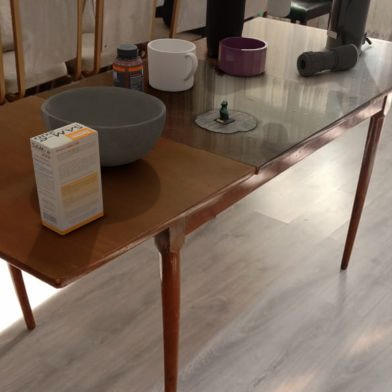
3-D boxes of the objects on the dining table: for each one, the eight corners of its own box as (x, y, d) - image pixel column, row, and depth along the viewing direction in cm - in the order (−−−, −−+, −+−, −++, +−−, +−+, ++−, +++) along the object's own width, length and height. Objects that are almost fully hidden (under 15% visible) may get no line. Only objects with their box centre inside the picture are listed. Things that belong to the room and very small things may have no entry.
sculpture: (190, 130, 121) (195, 90, 121) (198, 147, 130) (202, 108, 130) (252, 134, 119) (257, 92, 119) (255, 150, 128) (259, 111, 128)
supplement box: (83, 205, 96) (75, 120, 87) (104, 216, 94) (99, 130, 85) (40, 224, 91) (28, 136, 82) (61, 237, 89) (51, 147, 80)
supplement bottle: (148, 103, 130) (148, 45, 123) (134, 112, 126) (133, 52, 119) (123, 98, 132) (121, 40, 124) (109, 107, 128) (106, 47, 120)
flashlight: (307, 79, 146) (310, 55, 143) (293, 73, 150) (296, 48, 146) (356, 71, 153) (361, 47, 149) (341, 64, 156) (345, 41, 153)
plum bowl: (234, 60, 156) (236, 33, 152) (273, 69, 151) (276, 42, 147) (209, 70, 149) (210, 43, 145) (249, 81, 144) (252, 53, 140)
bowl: (178, 180, 104) (180, 120, 97) (54, 192, 99) (47, 129, 92) (150, 133, 118) (150, 78, 112) (40, 141, 113) (33, 84, 107)
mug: (138, 81, 140) (137, 43, 135) (174, 73, 146) (175, 36, 140) (176, 99, 133) (177, 59, 127) (213, 90, 138) (215, 51, 133)
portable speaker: (199, 51, 160) (203, -38, 147) (232, 49, 163) (239, -39, 150) (211, 61, 154) (217, -31, 141) (246, 58, 157) (254, -32, 144)
